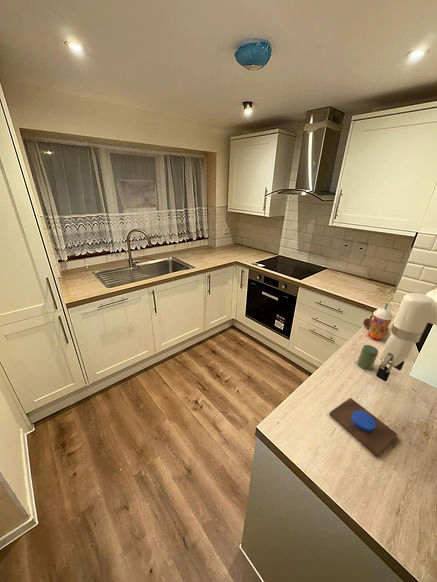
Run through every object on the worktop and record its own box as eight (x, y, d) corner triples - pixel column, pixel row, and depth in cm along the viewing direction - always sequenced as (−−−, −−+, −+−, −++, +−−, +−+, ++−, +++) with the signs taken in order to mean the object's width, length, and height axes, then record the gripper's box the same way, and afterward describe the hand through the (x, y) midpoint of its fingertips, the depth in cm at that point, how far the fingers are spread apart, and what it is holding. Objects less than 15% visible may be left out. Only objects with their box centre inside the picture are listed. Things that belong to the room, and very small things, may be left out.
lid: (346, 418, 79) (347, 415, 79) (358, 409, 82) (359, 406, 82) (366, 436, 74) (368, 433, 73) (378, 426, 77) (380, 423, 76)
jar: (374, 367, 104) (381, 350, 100) (367, 371, 102) (374, 355, 98) (361, 358, 109) (367, 343, 105) (354, 363, 106) (360, 347, 102)
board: (396, 437, 75) (397, 434, 75) (376, 457, 70) (377, 453, 69) (349, 400, 88) (350, 397, 87) (329, 414, 82) (330, 411, 81)
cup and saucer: (370, 334, 127) (374, 324, 125) (358, 322, 138) (361, 313, 135) (392, 334, 128) (396, 325, 125) (377, 322, 139) (381, 313, 136)
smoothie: (363, 336, 125) (374, 303, 117) (368, 330, 130) (380, 298, 122) (380, 344, 120) (394, 310, 111) (385, 337, 125) (399, 305, 116)
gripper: (405, 318, 80) (389, 357, 87) (378, 333, 72) (363, 375, 79) (432, 329, 74) (412, 370, 82) (406, 347, 66) (387, 391, 73)
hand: (388, 373), depth 80 cm, fingers open, 9 cm apart
